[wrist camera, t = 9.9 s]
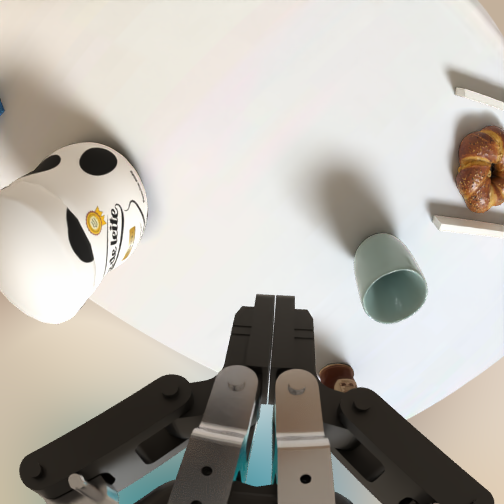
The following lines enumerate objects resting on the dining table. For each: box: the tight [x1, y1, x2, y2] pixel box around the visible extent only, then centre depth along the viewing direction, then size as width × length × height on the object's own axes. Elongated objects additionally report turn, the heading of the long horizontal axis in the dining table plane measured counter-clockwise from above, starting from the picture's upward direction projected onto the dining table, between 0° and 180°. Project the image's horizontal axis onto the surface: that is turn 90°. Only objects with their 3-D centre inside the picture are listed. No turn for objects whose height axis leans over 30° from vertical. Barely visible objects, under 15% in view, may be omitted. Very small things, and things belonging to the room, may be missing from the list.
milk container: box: [0, 142, 148, 324], centre depth 33 cm, size 17×17×18 cm
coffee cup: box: [319, 364, 357, 393], centre depth 49 cm, size 9×8×13 cm
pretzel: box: [456, 126, 504, 213], centre depth 31 cm, size 12×11×4 cm
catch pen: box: [432, 87, 504, 239], centre depth 31 cm, size 18×17×2 cm
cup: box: [354, 233, 428, 324], centre depth 36 cm, size 8×8×10 cm
